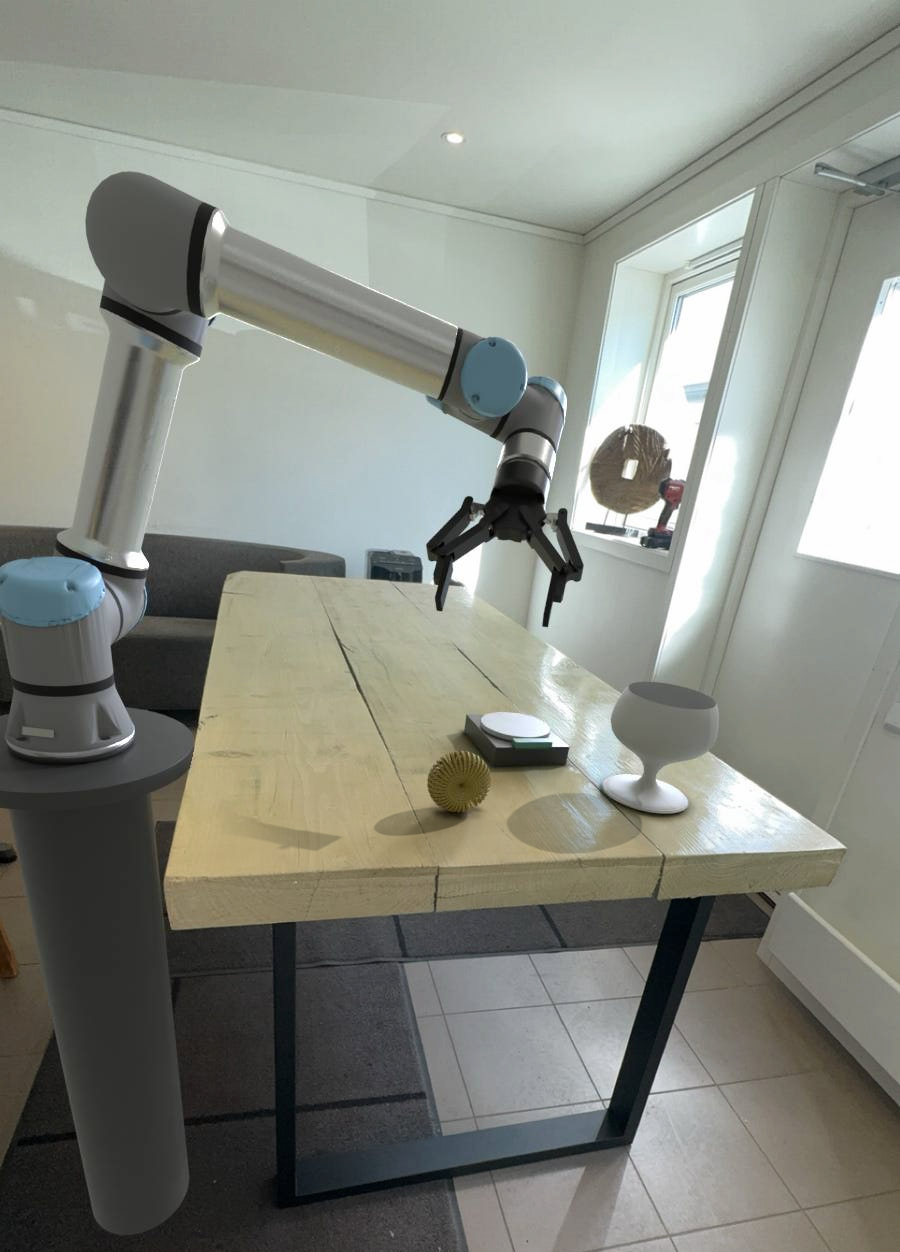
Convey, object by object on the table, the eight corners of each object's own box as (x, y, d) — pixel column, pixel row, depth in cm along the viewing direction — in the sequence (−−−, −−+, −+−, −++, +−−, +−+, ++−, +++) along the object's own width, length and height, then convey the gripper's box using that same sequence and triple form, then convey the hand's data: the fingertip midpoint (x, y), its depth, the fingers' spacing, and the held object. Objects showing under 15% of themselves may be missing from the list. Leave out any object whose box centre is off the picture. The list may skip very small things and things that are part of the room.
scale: (463, 731, 109) (466, 709, 107) (530, 731, 113) (533, 710, 111) (493, 766, 97) (497, 742, 95) (566, 764, 101) (570, 741, 99)
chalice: (715, 808, 93) (748, 707, 86) (649, 827, 85) (680, 717, 78) (639, 769, 103) (664, 676, 96) (574, 783, 95) (596, 682, 88)
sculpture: (427, 818, 80) (433, 758, 77) (421, 802, 84) (427, 744, 80) (489, 818, 82) (499, 759, 79) (481, 803, 86) (490, 746, 82)
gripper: (611, 513, 90) (587, 644, 84) (435, 490, 94) (399, 615, 87) (621, 469, 83) (596, 608, 77) (430, 446, 87) (390, 579, 80)
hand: (491, 612), depth 82 cm, fingers open, 13 cm apart
